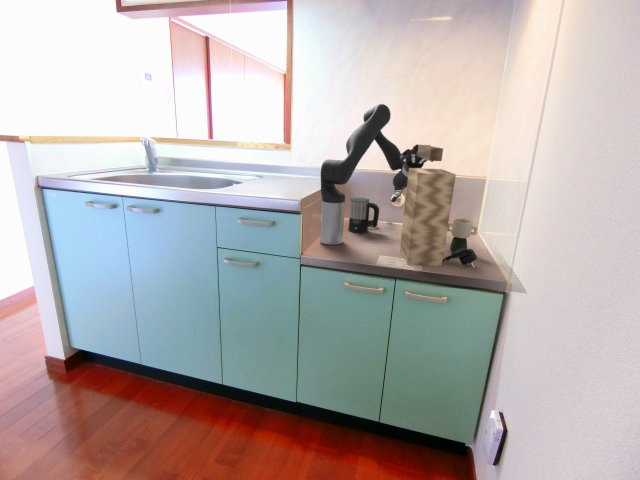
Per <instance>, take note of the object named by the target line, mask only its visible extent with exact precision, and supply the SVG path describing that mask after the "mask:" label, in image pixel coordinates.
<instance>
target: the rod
mask: <svg viewBox="0 0 640 480" xmlns="http://www.w3.org/2000/svg"><path fill="white" fill-rule="evenodd" d="M417 145H418V150H417V152H416V154H415V156H418V157H421V158H424V159H426V160H428V161H430V162H431V161H433V162H442V160H443V152H444V148H441V147H438V146H432V145H430V146H428V145H429V144H417Z"/></svg>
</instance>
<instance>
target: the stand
mask: <svg viewBox="0 0 640 480" xmlns="http://www.w3.org/2000/svg"><path fill="white" fill-rule="evenodd" d="M456 177H457V176H456V173H453V172H451V171H448V170H445V169H442V168H439V169H438V168H409V172H408V181H407V187H406V191H405V198H404V199H405V200H404V201H405V202H404V209H403V210H404V211H403V220H402V229H401V237H400V246H399V252H400V253H401V255H402V257H403V259H404V261H405V263H406V265H408V266H409V265H410V266H411V265H412V266H430V267H431V266H432V267H442V266H443V262H442V261H443V260H444V253H445V248H446V242H447V241H446V240H447V236H448V235H447V233H448V231H447V228H448V223H450V222H449V221H450V215H451V208H452V202H453V194H454V188H455V182H456Z"/></svg>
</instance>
